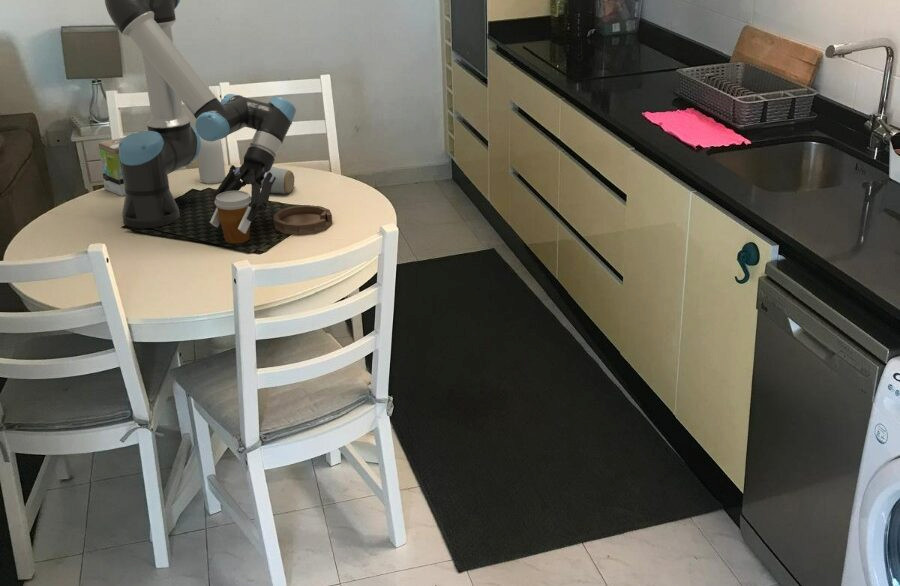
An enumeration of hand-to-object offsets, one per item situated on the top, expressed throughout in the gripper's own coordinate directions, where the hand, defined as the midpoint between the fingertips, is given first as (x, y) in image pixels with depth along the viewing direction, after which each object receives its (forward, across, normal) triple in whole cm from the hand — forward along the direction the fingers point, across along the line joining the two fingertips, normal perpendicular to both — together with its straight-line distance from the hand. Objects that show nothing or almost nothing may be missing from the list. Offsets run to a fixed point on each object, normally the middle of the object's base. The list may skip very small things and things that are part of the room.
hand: (227, 228), depth 249 cm
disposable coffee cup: (+1, 0, -5) cm, 5 cm away
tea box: (-12, +56, -18) cm, 60 cm away
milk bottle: (-23, +40, -29) cm, 55 cm away
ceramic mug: (-25, +15, -31) cm, 43 cm away
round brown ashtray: (-11, -8, -17) cm, 22 cm away
